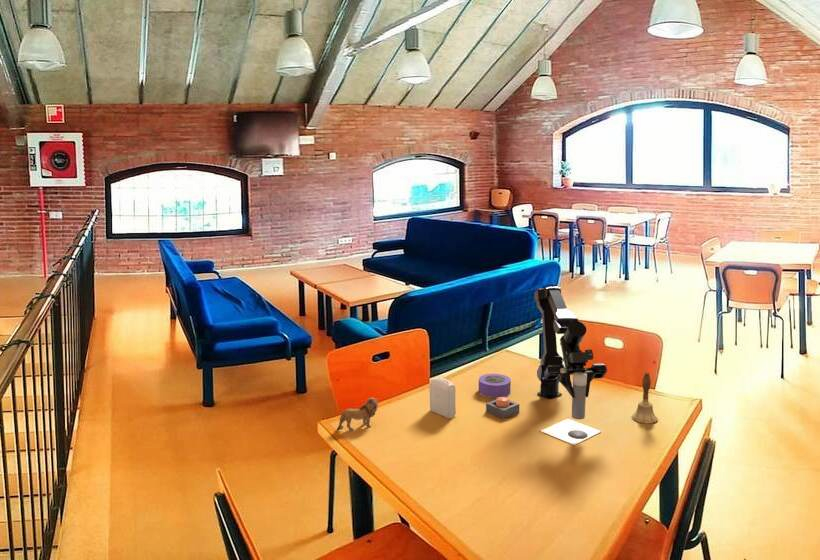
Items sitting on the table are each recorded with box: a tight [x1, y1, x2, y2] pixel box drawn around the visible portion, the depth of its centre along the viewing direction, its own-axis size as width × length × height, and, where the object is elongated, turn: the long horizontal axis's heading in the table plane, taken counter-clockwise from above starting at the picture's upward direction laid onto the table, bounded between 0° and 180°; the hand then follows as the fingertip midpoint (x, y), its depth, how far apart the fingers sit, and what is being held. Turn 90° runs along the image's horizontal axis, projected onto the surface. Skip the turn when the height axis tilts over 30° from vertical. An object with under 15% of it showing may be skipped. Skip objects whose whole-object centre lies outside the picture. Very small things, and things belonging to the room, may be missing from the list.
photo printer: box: [429, 377, 457, 419], centre depth 227 cm, size 10×4×12 cm, turn 39°
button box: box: [485, 399, 520, 420], centre depth 229 cm, size 8×8×3 cm
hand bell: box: [631, 372, 659, 424], centre depth 220 cm, size 8×8×16 cm
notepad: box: [540, 418, 602, 446], centre depth 213 cm, size 14×13×1 cm
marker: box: [571, 372, 587, 420], centre depth 208 cm, size 4×4×14 cm
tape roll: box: [478, 373, 512, 399], centre depth 247 cm, size 12×12×5 cm
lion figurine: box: [336, 397, 379, 432], centre depth 218 cm, size 15×5×9 cm, turn 117°
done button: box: [495, 396, 511, 408], centre depth 228 cm, size 5×5×4 cm
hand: (580, 397), depth 206 cm, fingers closed on marker, 4 cm apart
